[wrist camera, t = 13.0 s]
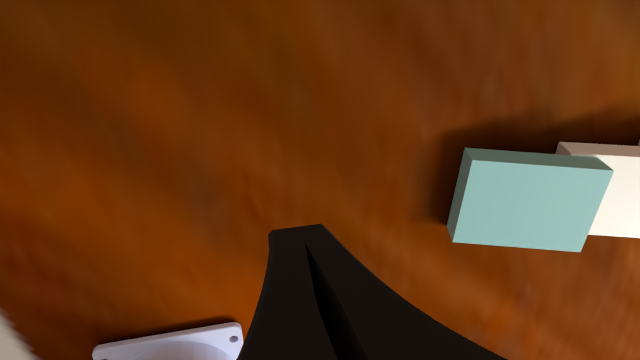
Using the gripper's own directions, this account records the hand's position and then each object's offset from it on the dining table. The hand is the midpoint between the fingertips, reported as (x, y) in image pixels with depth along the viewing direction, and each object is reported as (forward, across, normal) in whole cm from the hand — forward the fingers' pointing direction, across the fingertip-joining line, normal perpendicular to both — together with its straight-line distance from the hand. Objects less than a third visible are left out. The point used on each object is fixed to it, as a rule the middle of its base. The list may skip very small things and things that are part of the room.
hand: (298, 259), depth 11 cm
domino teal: (+10, -10, +5) cm, 15 cm away
